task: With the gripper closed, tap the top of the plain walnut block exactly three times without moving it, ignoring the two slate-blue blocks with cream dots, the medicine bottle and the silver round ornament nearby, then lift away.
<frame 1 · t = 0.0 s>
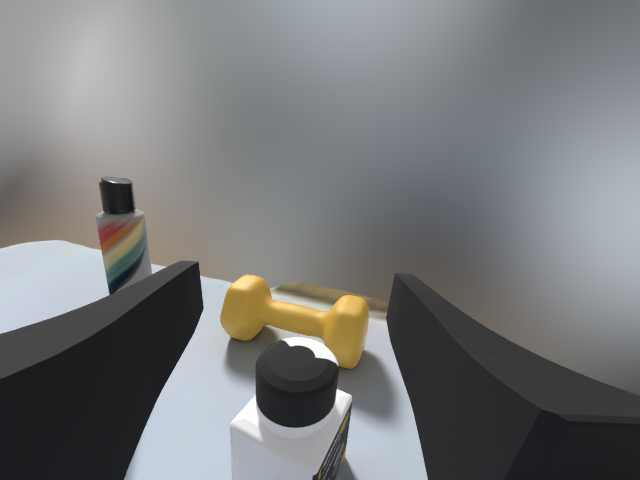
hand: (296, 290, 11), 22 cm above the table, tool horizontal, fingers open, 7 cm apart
lotion bottle: (135, 309, 47), on the table
dumbbell: (294, 345, 42), on the table
medicine bottle: (291, 472, 26), on the table
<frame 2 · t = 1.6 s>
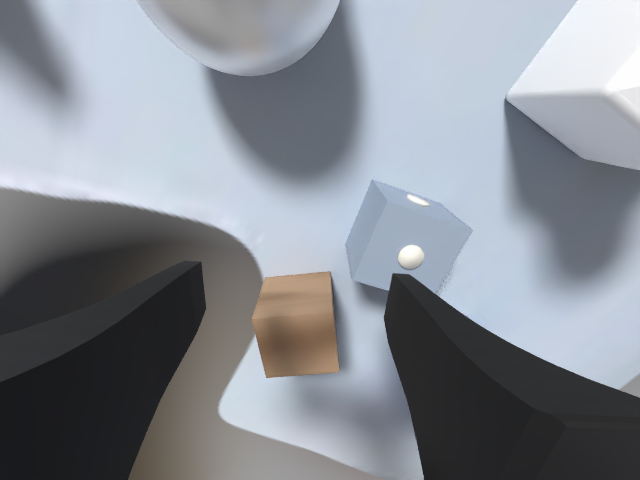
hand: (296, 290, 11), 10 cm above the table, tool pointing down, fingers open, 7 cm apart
walnut block: (301, 301, 24), on the table
dotted block A: (390, 223, 21), on the table
medicine bottle: (587, 74, 18), on the table
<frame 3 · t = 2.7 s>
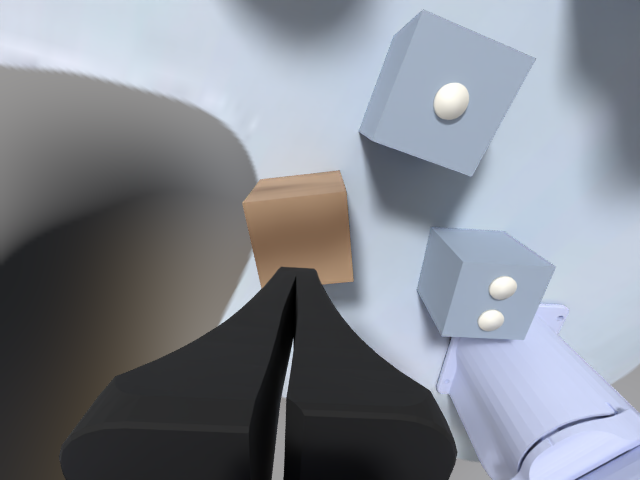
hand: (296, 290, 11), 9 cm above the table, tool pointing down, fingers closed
walnut block: (305, 212, 20), on the table
dotted block A: (415, 102, 17), on the table
dotted block B: (457, 261, 22), on the table
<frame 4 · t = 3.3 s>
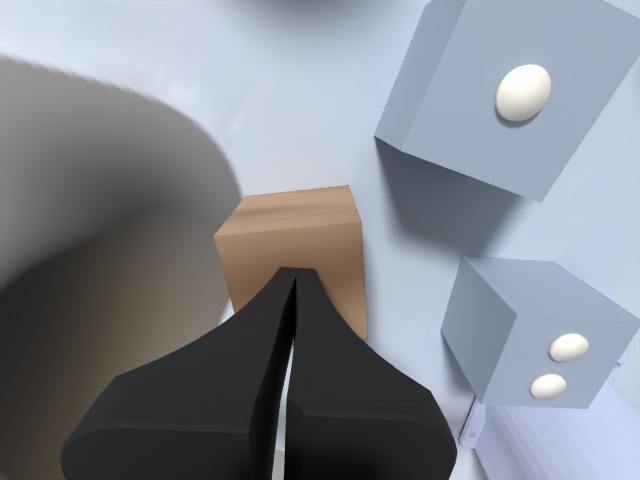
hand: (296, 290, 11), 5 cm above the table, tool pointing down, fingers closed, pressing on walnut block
walnut block: (303, 237, 16), on the table, touching gripper
dotted block A: (449, 97, 13), on the table
dotted block B: (493, 297, 17), on the table
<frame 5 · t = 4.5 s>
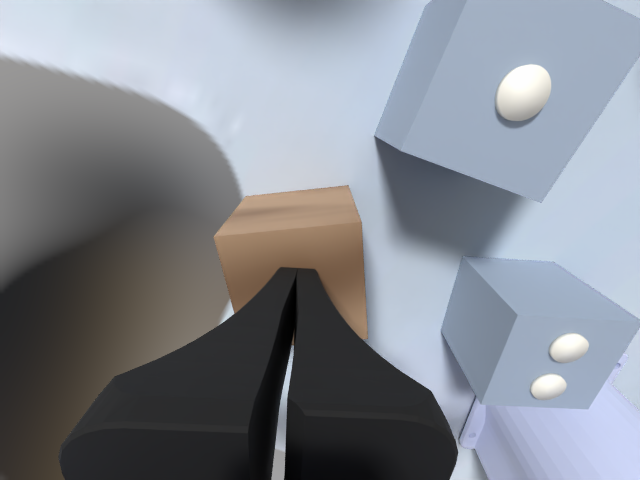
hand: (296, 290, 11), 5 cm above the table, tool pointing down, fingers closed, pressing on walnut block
walnut block: (303, 237, 16), on the table, touching gripper
dotted block A: (450, 97, 13), on the table
dotted block B: (493, 297, 17), on the table
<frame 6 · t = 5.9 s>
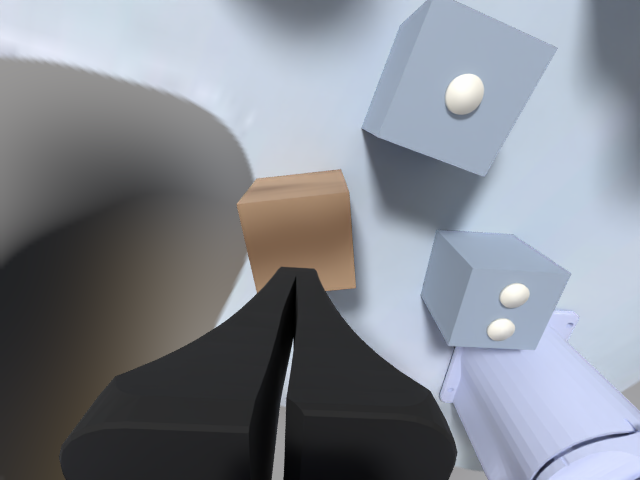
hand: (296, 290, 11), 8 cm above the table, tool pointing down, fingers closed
walnut block: (304, 213, 19), on the table
dotted block A: (422, 97, 16), on the table
dotted block B: (464, 265, 21), on the table
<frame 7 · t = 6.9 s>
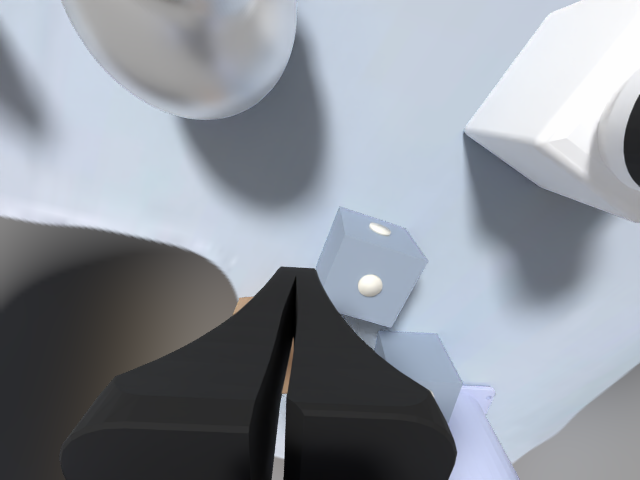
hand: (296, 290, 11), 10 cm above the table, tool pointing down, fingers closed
walnut block: (276, 319, 25), on the table
dotted block A: (359, 247, 22), on the table
silver round ornament: (225, 24, 17), on the table
dotted block B: (402, 354, 26), on the table
medicine bottle: (541, 109, 18), on the table
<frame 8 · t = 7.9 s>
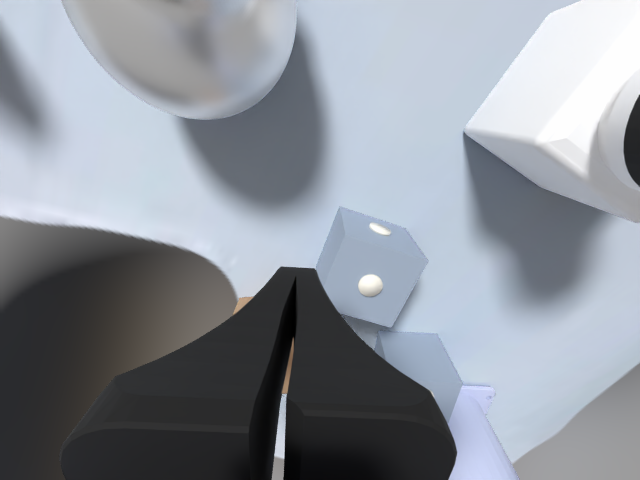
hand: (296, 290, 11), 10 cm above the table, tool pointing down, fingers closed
walnut block: (276, 319, 25), on the table
dotted block A: (359, 247, 22), on the table
silver round ornament: (225, 24, 17), on the table
dotted block B: (402, 354, 26), on the table
medicine bottle: (541, 109, 18), on the table
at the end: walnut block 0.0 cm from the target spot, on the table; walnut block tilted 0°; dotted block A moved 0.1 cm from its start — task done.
